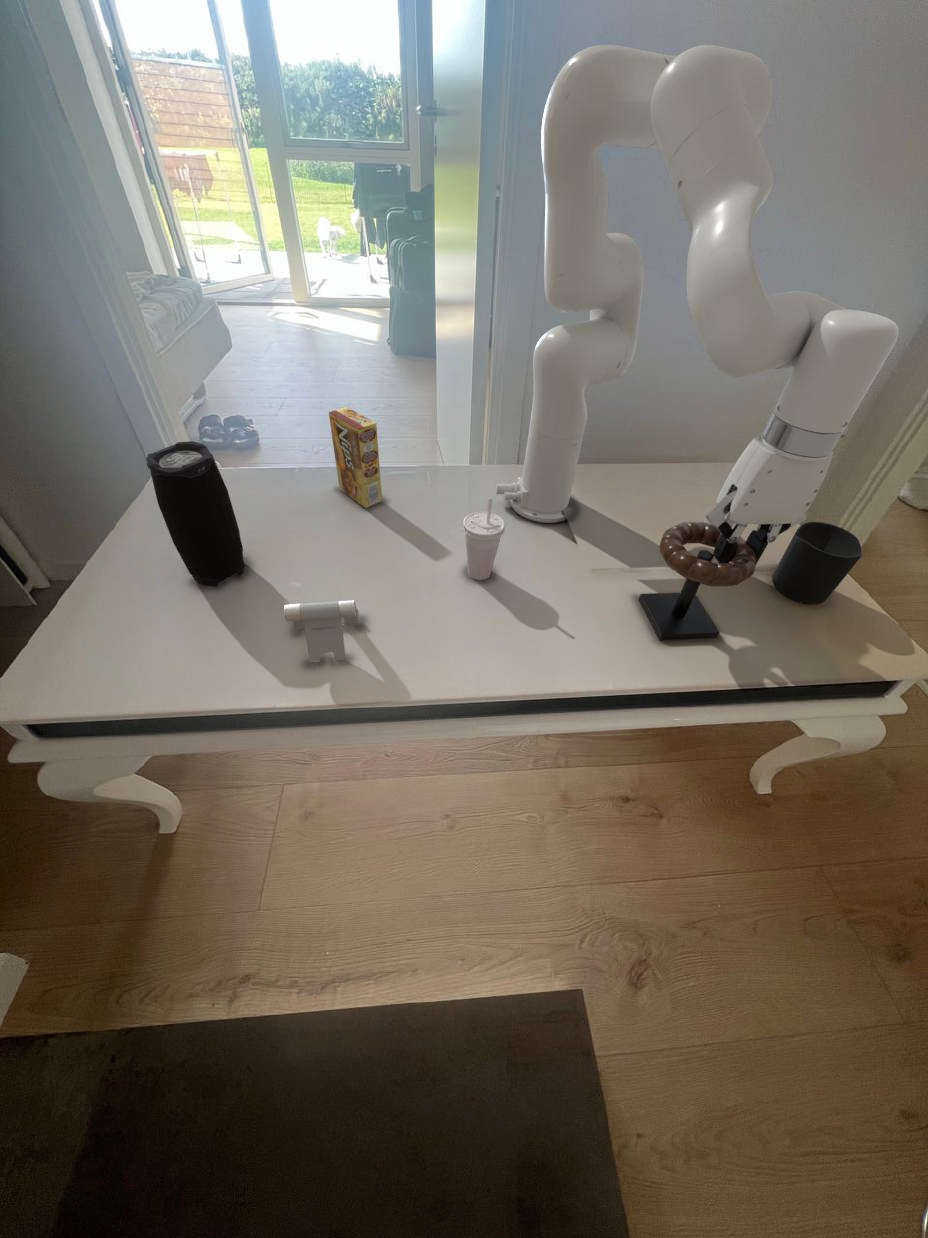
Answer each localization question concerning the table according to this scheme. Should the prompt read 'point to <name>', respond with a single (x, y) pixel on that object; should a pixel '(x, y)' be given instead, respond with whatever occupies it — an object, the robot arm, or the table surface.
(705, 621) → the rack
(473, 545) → the smoothie
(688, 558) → the chocolate torus ring
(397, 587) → the table surface
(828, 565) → the pen holder
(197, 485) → the portable speaker
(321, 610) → the tablet stand
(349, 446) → the candy box
